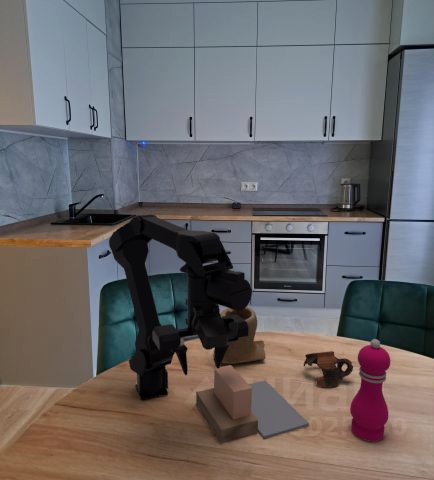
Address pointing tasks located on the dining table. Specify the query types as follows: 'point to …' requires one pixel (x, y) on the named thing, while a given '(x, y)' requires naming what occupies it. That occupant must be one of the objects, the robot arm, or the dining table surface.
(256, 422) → the ledge
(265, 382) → the mat
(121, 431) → the dining table surface
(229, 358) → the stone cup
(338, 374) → the pottery mug
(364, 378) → the pepper mill
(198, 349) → the dining table surface
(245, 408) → the salmon pink block
